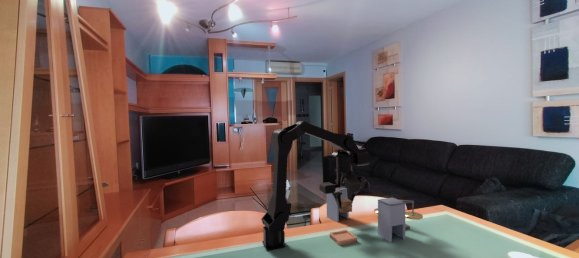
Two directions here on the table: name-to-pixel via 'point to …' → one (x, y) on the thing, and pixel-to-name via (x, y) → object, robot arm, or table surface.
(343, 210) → the block
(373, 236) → the table surface
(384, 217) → the gray arched-opening tower
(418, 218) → the balance
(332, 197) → the tall vending chute
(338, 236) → the dish
